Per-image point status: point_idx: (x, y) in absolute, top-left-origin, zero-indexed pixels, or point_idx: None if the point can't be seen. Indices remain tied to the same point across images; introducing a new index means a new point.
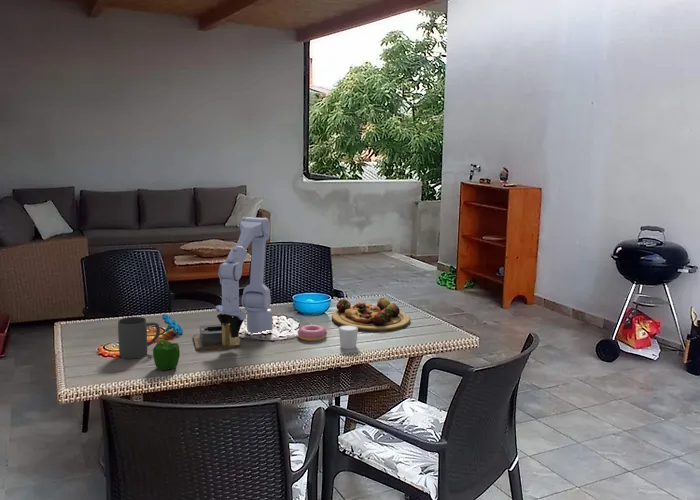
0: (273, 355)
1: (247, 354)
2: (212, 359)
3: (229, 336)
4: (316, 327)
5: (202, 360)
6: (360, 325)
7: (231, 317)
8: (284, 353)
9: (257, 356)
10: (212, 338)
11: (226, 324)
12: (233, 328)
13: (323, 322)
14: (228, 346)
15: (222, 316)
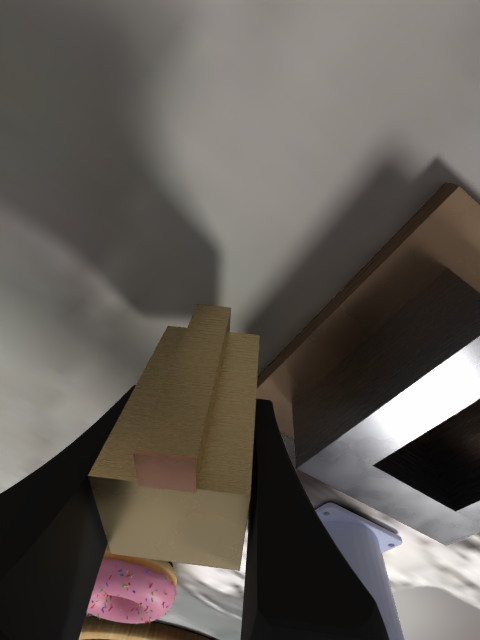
0: (21, 402)
1: (108, 346)
2: (170, 123)
3: (145, 374)
4: (122, 611)
5: (210, 26)
6: (99, 638)
7: (242, 624)
8: (23, 439)
9: (48, 355)
10: (400, 351)
11: (168, 491)
12: (56, 458)
13: (222, 629)
14: (277, 363)
15: (255, 635)
